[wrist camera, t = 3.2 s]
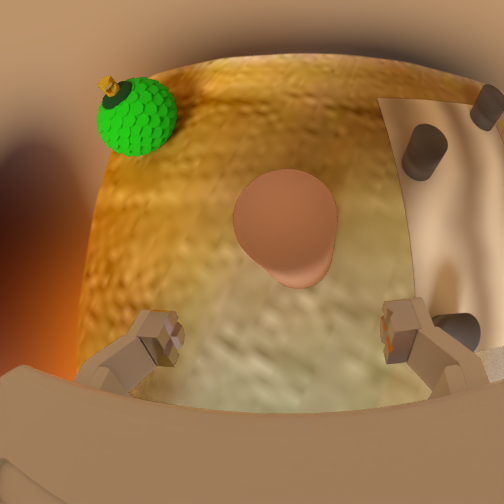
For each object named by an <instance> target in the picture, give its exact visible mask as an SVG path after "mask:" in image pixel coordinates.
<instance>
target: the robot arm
mask: <svg viewBox="0 0 504 504" xmlns="http://www.w3.org/2000/svg"><path fill="white" fill-rule="evenodd" d="M382 311H383V316H382V317H381V320H380V337H381V342H382V343H384V344H385V346H384V356H385V361H386V365H387V364H397V363H405V362H407V364H408V365H409V366H410V367H411V368H412V369H413V370H414V371H415V373H416V374H417V375H418V376H419V377H420V378H421V379H422V380H423V381H424V382H425V383H426V385H427V386H428V387H429V388H430V389H431V390H432V391H433V392H432V393H431V395H430V397H429V398H428V400H423V401H418V402H413V403H407V404H401V405H395V406H388V407H380V408H372V409H363V410H353V411H341V412H325V413H249V412H233V411H220V410H210V409H201V408H193V407H185V406H178V405H171V404H165V403H159V402H154V401H148V400H143V399H138V398H133V397H132V396H131V395H130V394H129V393H130V392H131V391H132V390H133V389H134V388H135V387H136V386H137V385H138V384H139V383H140V382H141V381H142V380H143V379H144V378H145V377H147V376H148V375H149V374H150V373H151V372H152V371H153V370H154V369H155V368H156V367H157V366H166V367H174V366H175V364H176V361H177V359H178V356H179V354H178V350H179V349H180V348H181V347H182V346H183V344H184V339H185V333H184V329H183V327H182V325H181V324H180V323H178V322H177V320H178V316H177V314H176V312H175V311H167V310H142V311H140V313H139V315H138V316H137V318H136V320H135V321H134V323H133V325H132V326H131V328H130V330H129V331H128V333H127V335H126V336H122V337H120V338H119V339H117V340H116V341H114V342H113V343H112V344H110V345H109V346H107V347H106V348H104V349H103V350H101V351H100V352H98V353H97V354H95V355H94V356H92V357H91V358H89V359H88V360H87V361H85V362H84V364H83V365H82V367H81V369H80V370H79V372H78V374H77V375H76V377H75V379H74V380H73V382H72V381H69V380H66V379H63V378H60V377H57V376H53V375H51V374H48V373H45V372H42V371H39V370H37V369H35V368H32V367H30V366H27V365H20V366H19V367H16V368H14V369H12V370H11V371H9V372H8V373H6V374H4V375H3V376H1V377H0V504H504V379H502V380H499V381H496V382H493V383H490V382H489V380H488V377H487V374H486V372H485V369H484V366H483V364H482V361H481V359H480V357H478V356H477V355H476V354H474V353H473V352H472V351H470V350H469V349H468V348H466V347H465V346H464V345H462V344H461V343H460V342H458V341H457V340H456V339H454V338H453V337H452V336H450V335H449V334H448V333H446V332H445V331H443V330H442V329H441V328H439V327H434V324H433V322H432V319H431V317H430V315H429V312H428V310H427V307H426V305H425V303H424V301H423V298H421V297H416V298H409V299H401V300H393V301H384V303H383V307H382Z"/></svg>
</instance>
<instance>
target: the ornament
mask: <svg viewBox="0 0 504 504" xmlns="http://www.w3.org/2000/svg"><path fill="white" fill-rule="evenodd" d="M110 83H112V86H111V87H110V88H109V89H107V90H106V87H107V86H108V85H109V84H110ZM98 87H99V88H101V90H102V91H104V93H105V96H104V97H103V101H102V103H101V105H100V106H99V113H98V117H97V124H98V129H99V134H100V135H101V138H102V140H104V142H105V143H106V145H107V146H108V147H109V148H112V150H114V151H115V152H117V153H118V154H120V153H122V154H124V155H126V156H129V157H130V156H132V155H133V156H140V155H146V154H149V153H150V151H155V150H157V149H158V148H159V147H160V146H161V145H163V144H164V143H165V142H166V141H167V139H169V137H170V136H171V134H172V131H173V130H174V129H175V123H176V120H177V113H176V111H177V108H176V103H175V102H174V100H175V98H174V97H173V96H172V94H171V93H170V92H169V91H168V90H169V89H168V88H167V87H165V86H164V85H162V84H160V83H159V81H157V80H152V79H147V77H141V78H131V79H128V80H126V81H121V82H119V83H116V82H115V81H114V79H113V78H112V77H111V76H106V77H104V78H102V79H101V81H100V82H99V84H98Z"/></svg>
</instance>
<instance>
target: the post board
mask: <svg viewBox="0 0 504 504" xmlns="http://www.w3.org/2000/svg"><path fill="white" fill-rule="evenodd" d="M377 101H378V104H379V107H380V110H381V113H382V116H383V119H384V123H385V126H386V130H387V133H388V137H389V140H390V144H391V148H392V151H393V155H394V159H395V163H396V168H397V172H398V177H399V181H400V186H401V191H402V196H403V201H404V207H405V212H406V218H407V224H408V231H409V238H410V246H411V254H412V263H413V274H414V286H415V298H416V297H421V298H423V301H424V303H425V305H426V307H427V310H428V312H429V315H430V317H431V319H432V322H433V324H434V327H439V328H441V329H442V330H443V331H445V332H446V333H448V334H449V335H450V336H452V337H453V338H454V339H456V340H457V341H458V342H460V343H461V344H462V345H464V346H465V347H466V348H468V349H469V350H470V351H472V352H473V353H476V352H480V351H484V350H489V349H493V348H497V347H501V346H504V143H503V141H502V138H501V136H500V134H499V131H498V129H497V127H496V124H495V123H496V122H497V120H498V119H499V117H500V116H501V114H502V113H503V111H504V95H503V94H502V93H501V92H500V91H499V90H498V89H497V88H495V87H494V86H492V85H488V84H485V85H484V86H483V87H482V89H481V92H480V93H479V95H478V97H477V99H476V101H475V103H474V105H468V104H461V103H453V102H444V101H433V100H421V99H403V98H377Z"/></svg>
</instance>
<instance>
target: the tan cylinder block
mask: <svg viewBox="0 0 504 504" xmlns="http://www.w3.org/2000/svg"><path fill="white" fill-rule="evenodd" d="M337 218H338V216H337V207H336V203H335V200H334V198H333V196H332V194H331V192H330V191H329V189H328V188H327V187H326V185H325V184H324V183H323V182H322V181H320V180H319V179H318V178H316V177H315V176H313V175H311V174H309V173H307V172H304V171H301V170H296V169H279V170H274V171H270V172H268V173H265V174H263V175H261V176H259V177H257V178H256V179H255V180H253V181H252V182H251V183H250V184H249V185H248V186H247V187H246V188H245V189H244V190H243V192H242V193H241V195H240V196H239V198H238V200H237V203H236V206H235V209H234V214H233V227H234V232H235V235H236V238H237V240H238V242H239V244H240V245H241V247H242V248H243V250H244V251H245V252H246V253H247V254H248V255H249V256H250V257H251V258H252V259H254V260H255V261H256V262H257V263H258V264H259V265H260V266H261V267H263V268H264V269H265V270H266V271H267V272H268V273H269V274H270V275H272V276H273V277H274V278H275V279H276V280H277V281H278V282H280V283H281V284H283V285H285V286H287V287H290V288H295V289H303V288H308V287H311V286H313V285H315V284H317V283H318V282H319V281H321V280H322V279H323V278H324V276H325V275H326V274H327V272H328V270H329V268H330V265H331V260H332V254H333V248H334V241H335V234H336V227H337Z"/></svg>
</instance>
